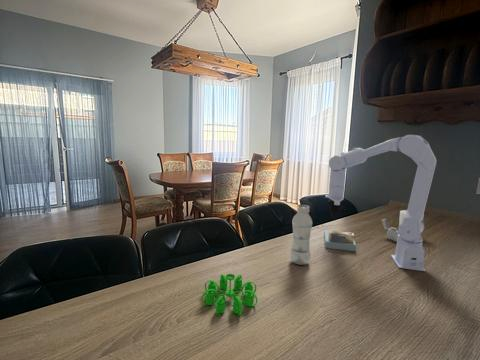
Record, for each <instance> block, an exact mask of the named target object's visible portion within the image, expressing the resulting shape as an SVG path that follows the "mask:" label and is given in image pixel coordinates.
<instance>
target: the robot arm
mask: <svg viewBox="0 0 480 360" xmlns="http://www.w3.org/2000/svg"><path fill="white" fill-rule="evenodd" d="M391 151H392V152H401V153H402V154H404V155H405V156H406V157H408V158H409V157H410V158H411V159H412V161H413V162H414V163H415V164H416V165H417V167H416V172H415V176H414V181H413V184H412V189H411V193H410V196H409V201H408V205H407V209H406V210H407V212H406V215H405V217H404V221H403V223H402V224H401V225H400V226H399V225H398V227H397V231H398V233H399V234H398V239H397V241H396V247H395V254H391V255H390V257H391V259H392V260H393V262H394V263H395V265H396V266H397V267H398V268H399V269H405V270H413V271H420V272H426V269H425V267H424V261H425V255H426V252H425V249H424V247H423V241H424V238H423V237H422V235H421V234H422V233H423V232H424V230H425V223H424V216H425V209H426V206H427V202H428V197H429V193H430V189H431V186H432V182H433V178H434V173H435V170H436V166H437V158H436V156H435V154H434V152H433V150H432V148H431V145H430V143H429V142H428V141H427V140H426V139H425V137H422V135H418V134H417V135H416V134H407V135H406V134H405V135H404V136H401V137H400V136H399V137H396V138H391V139H388V140H386V141H384V142H381V143H378V144H376V145H373V146H371V147H368V148H365V149H364V148H362V147H352V150H349V151H347V152H340V155H334V156H332V157H331V158H329V161H328V166H329V168H330V173H329V184H328V185H329V186H328V194H325V198H326V199H327V198H328V200H327V202H328V203H327V204H328V205H329V209H330V217H331V219H334V220H335V219H338V216H339V214H340V211H341V208H342V207H343V205H344V202H343V200H344V199H345V197H344V195H345V185H346V184H345V182H346V173H347V171H346V170H347V168H351V167H355V166H357V165H360V164H363V163H366V161H367V159H369V158H370V157H373V156H376V155H380V154H383V153H386V152H391Z"/></svg>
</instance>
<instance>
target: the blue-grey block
mask: <svg viewBox="0 0 480 360" xmlns="http://www.w3.org/2000/svg"><path fill="white" fill-rule="evenodd" d="M329 231H330V230H326V229H325V230H324V231H323V239H324V248H327V249H333V250H341V251H342V250H343V251H349V252H356V249H357V245H356V242H355V240H354V243H352V242H345V238H346V236H345V235H341V234H331V240H329V238H328V237H329Z"/></svg>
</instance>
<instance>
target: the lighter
mask: <svg viewBox="0 0 480 360" xmlns="http://www.w3.org/2000/svg"><path fill="white" fill-rule="evenodd" d="M381 223H382V226H383V228H384V230H386V235H385V236H386V237H385V238H386V239H387V238H388V240H390V239H391V240H390V241H392V240H393V241H392V242H395V241H396V242H397V239H398V234H399V233H398V228H396V227H392V226H391V227H390V226H389V223H388V220H387V218H384V219H381Z"/></svg>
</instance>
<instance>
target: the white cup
mask: <svg viewBox="0 0 480 360" xmlns="http://www.w3.org/2000/svg"><path fill="white" fill-rule="evenodd" d="M406 212H407V209H403V210H400V211H399V219H398V220H399V221H398V222H399V223H398V227H399V226H400V225H401V224H402V223H403V221H404V217H405V215H406Z"/></svg>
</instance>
